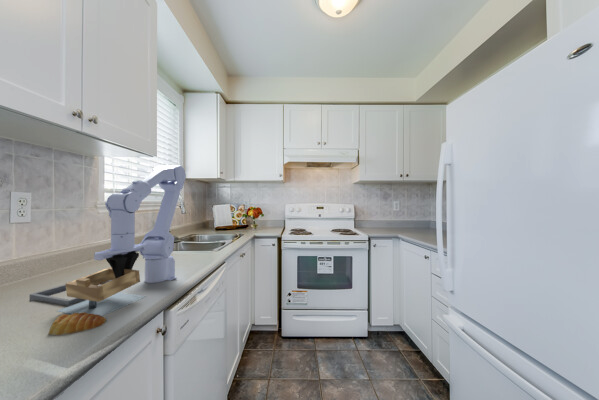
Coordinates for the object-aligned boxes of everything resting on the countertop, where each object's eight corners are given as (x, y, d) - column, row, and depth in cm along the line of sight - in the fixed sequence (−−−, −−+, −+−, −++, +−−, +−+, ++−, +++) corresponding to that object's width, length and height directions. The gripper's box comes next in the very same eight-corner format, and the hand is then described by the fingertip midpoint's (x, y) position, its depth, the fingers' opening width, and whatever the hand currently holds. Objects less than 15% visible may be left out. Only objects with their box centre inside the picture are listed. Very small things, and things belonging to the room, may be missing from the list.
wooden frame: (111, 277, 74) (109, 262, 74) (140, 281, 71) (138, 265, 70) (67, 296, 63) (64, 278, 63) (99, 301, 60) (96, 282, 60)
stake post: (90, 305, 65) (90, 286, 65) (101, 307, 64) (101, 287, 64) (83, 308, 64) (84, 288, 64) (95, 310, 63) (95, 289, 63)
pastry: (111, 321, 59) (111, 305, 59) (95, 336, 53) (95, 319, 53) (66, 325, 57) (66, 309, 57) (43, 342, 51) (43, 324, 51)
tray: (90, 283, 85) (90, 277, 85) (125, 288, 80) (125, 281, 80) (29, 302, 69) (29, 294, 69) (68, 309, 65) (68, 301, 65)
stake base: (111, 294, 76) (111, 291, 76) (146, 299, 72) (146, 296, 72) (55, 314, 62) (55, 310, 62) (95, 322, 58) (95, 318, 58)
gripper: (135, 229, 80) (134, 270, 80) (86, 236, 66) (85, 285, 66) (152, 230, 78) (151, 272, 78) (105, 237, 64) (105, 288, 64)
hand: (122, 278), depth 72 cm, fingers closed on wooden frame
